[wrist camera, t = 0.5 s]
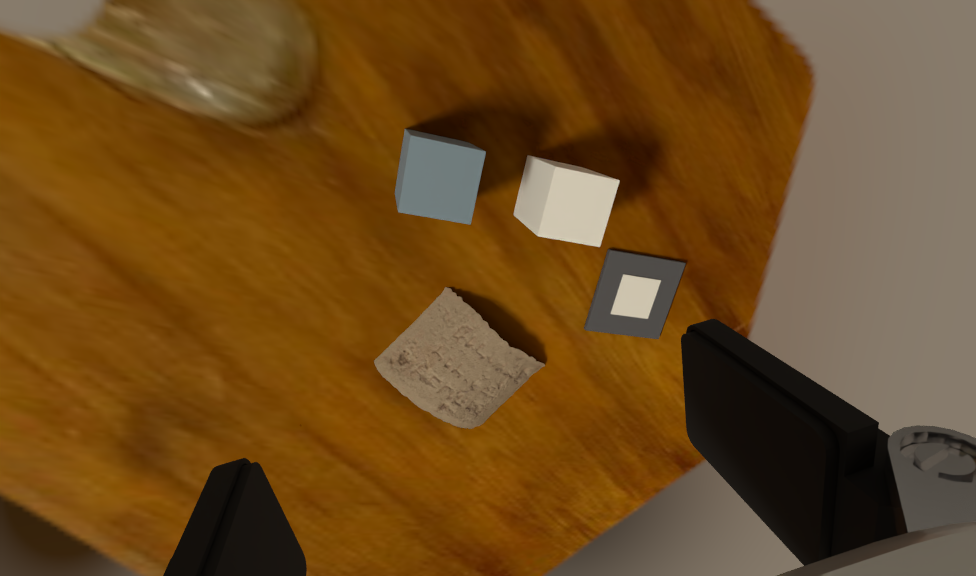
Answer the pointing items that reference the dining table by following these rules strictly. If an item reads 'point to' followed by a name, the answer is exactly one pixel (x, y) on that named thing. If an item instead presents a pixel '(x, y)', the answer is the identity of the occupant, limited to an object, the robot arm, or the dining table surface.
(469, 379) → the clay tablet
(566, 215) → the cream block
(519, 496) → the dining table surface
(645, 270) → the card
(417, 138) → the slate-blue block
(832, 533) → the robot arm
